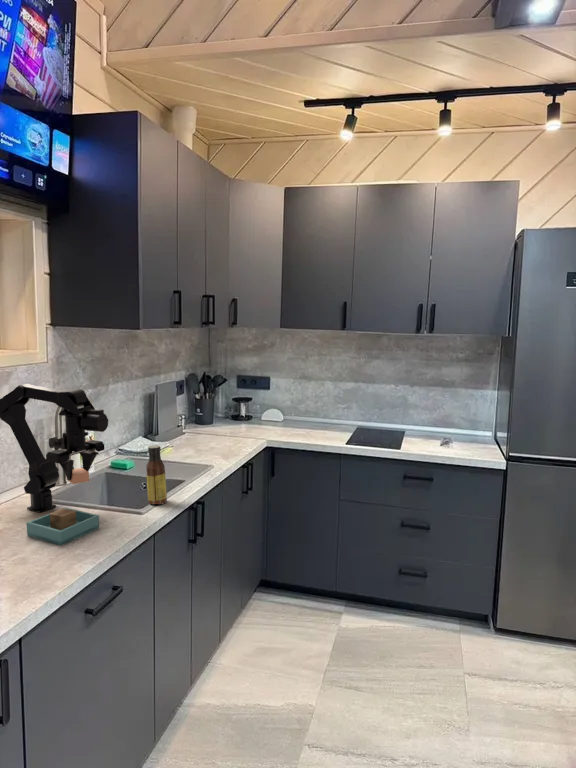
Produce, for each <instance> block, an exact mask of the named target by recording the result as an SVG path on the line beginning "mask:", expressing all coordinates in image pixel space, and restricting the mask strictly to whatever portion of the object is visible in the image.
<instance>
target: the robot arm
mask: <svg viewBox="0 0 576 768" xmlns="http://www.w3.org/2000/svg"><path fill="white" fill-rule="evenodd" d="M30 399H31V400H38V401H43V402H48V403H53V404H55V405H57V407H59V408H62V410H61V411H60V412H59V413H58V416H64V420H65V422H64V423H65V432H63V433H62V434H61V435H62V437H61V438H58V437H57V436H54V437H50V438H48V446H49V448H50V449H53V448H54V450H50V451H48V452H47V453H46V454H45V456H44V454H43V452H42V450H41V448H40V446H39V444H38V442H37V440H36V438H35V436H34V434H33V432H32V430H31V428H30V426H29V423H28V422H27V420H26V414H27V409H26V407H25V406H26V404H28V403H29V401H30ZM0 420H1V421H3V422H4V423H6V424H7V425H8V426H9V427H10V429H11V431H12V433H13V435H14V437H15V439H16V441H17V443H18V445H19V447H20V449H21V451H22V453H23V456H24V457H25V459H26V461H27V463H28V466H29V467H28V472H27V473H28V477H29V479H30V480H29V481H28V482H27V483H26V484H25V486H24V487H23V490H24V493H25V494H27V495H30V506H28V507H26V509H27V510H28V509H29V510H28V511H32V512H36V513H42V512H45V511H48V510H51V509H53V508H55V507H57V505H56V504H54V503H53V495H52V490H51V489H53V488H55V487H56V485H57V482H58V480H59V478H60V473H59V471H60V470H59V468H58V467H57V466H56V464H59V465H60V466H61V469H62V471H63V472H64V475H65V478H66V480H67V479H68V480H71V478H72V472H73V469H74V462H75V460H74V459H71V456H76V455H77V454H78V455H79V454H80V457H81V459H82V468H83V469H85V470H86V471H88V472H89V471H90V468H91V467H92V464H93V463H94V461H95V459H96V458H97V456H98V455H99V454H100V453H99V452H101V451H105V443H104V442H103V441H100V440H95V439H92V440H87V439H86V436H89V432H101V433H103V432H105V431H106V430H107V428H108V426H109V418H108V416H107V415H106V414H105V410H104V409H96V408H95V407H94V405H93V403H91V401H90V399H89V398H88V396H87V394H86V391H84V389H81V388H80V389H79V388H75V389H73V388H71V389H55V388H51V387H47V386H46V387H44V386H39V385H33V384H31V383H24V384H20V385H18V386H16V387H15V388H13V390H12V391H10V392H8V393H7V394H6V395H4V396H2V397H1V398H0ZM68 480H67V481H68Z"/></svg>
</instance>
